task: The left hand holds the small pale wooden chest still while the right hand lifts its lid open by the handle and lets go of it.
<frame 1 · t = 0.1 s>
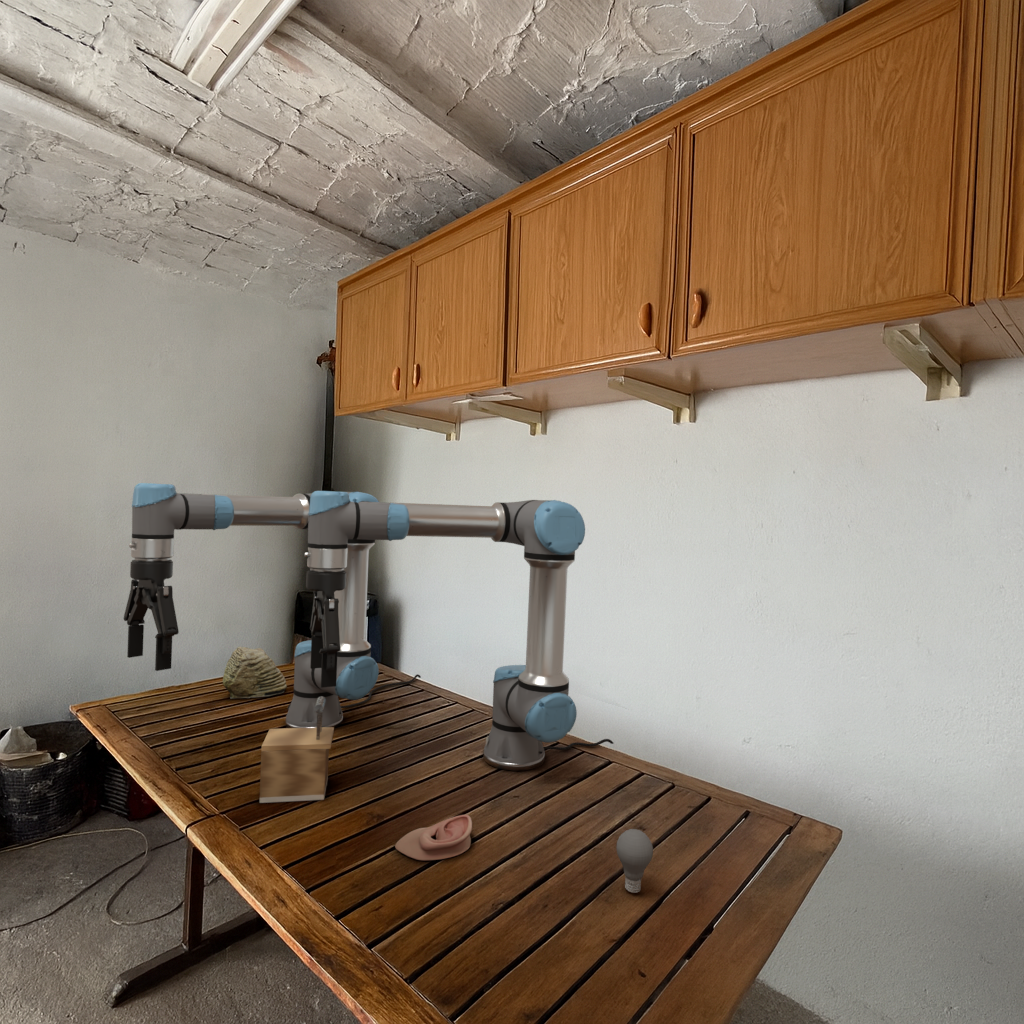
left hand: (148, 662, 129), 28 cm above the table, tool pointing down, fingers open, 13 cm apart
right hand: (322, 676, 125), 28 cm above the table, tool pointing down, fingers open, 13 cm apart
lid: (300, 720, 136), point 15 cm above the table, hinge at 0.0°
anatomical model: (434, 845, 117), on the table
chest: (295, 790, 136), on the table
fossil: (254, 694, 198), on the table
light bulb: (632, 891, 106), on the table
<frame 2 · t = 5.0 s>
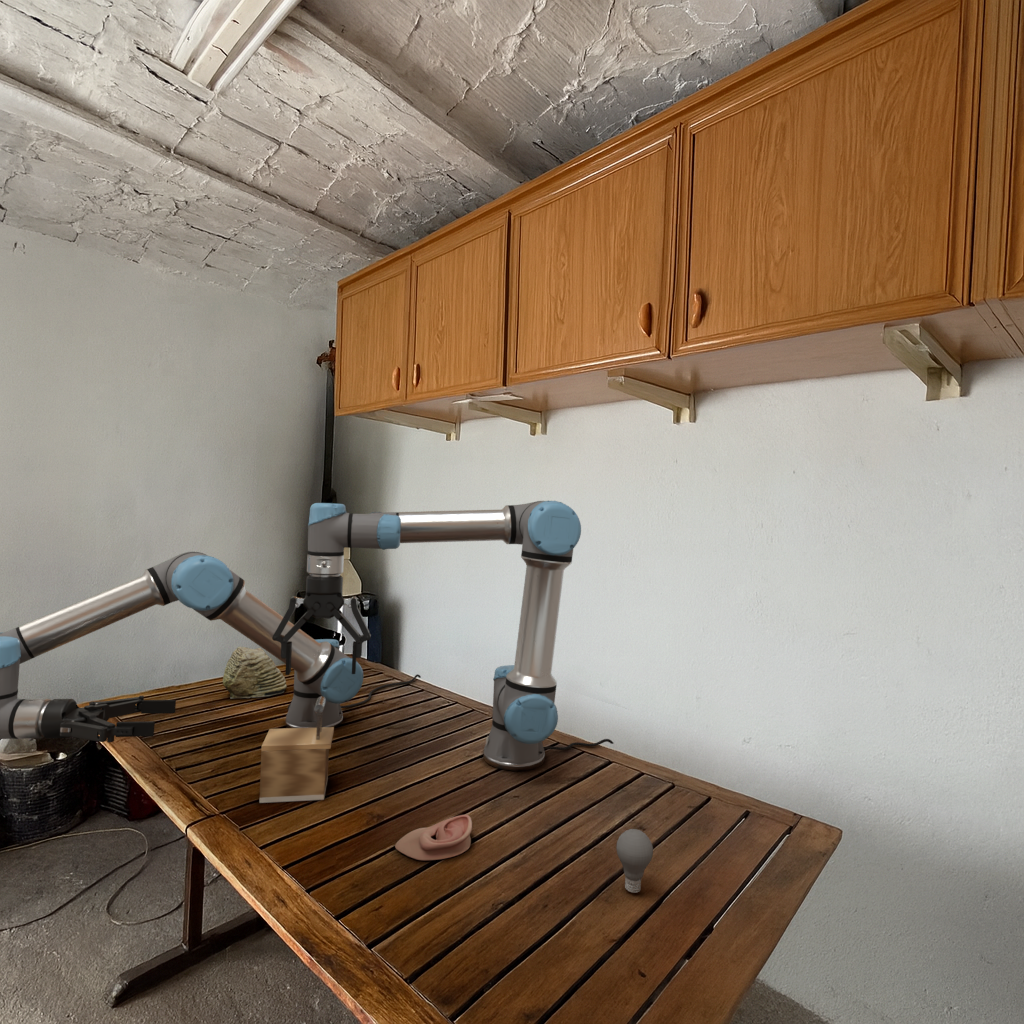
left hand: (165, 717, 131), 17 cm above the table, tool horizontal, fingers open, 13 cm apart
right hand: (321, 673, 137), 25 cm above the table, tool pointing down, fingers open, 13 cm apart
nothing on the table moved.
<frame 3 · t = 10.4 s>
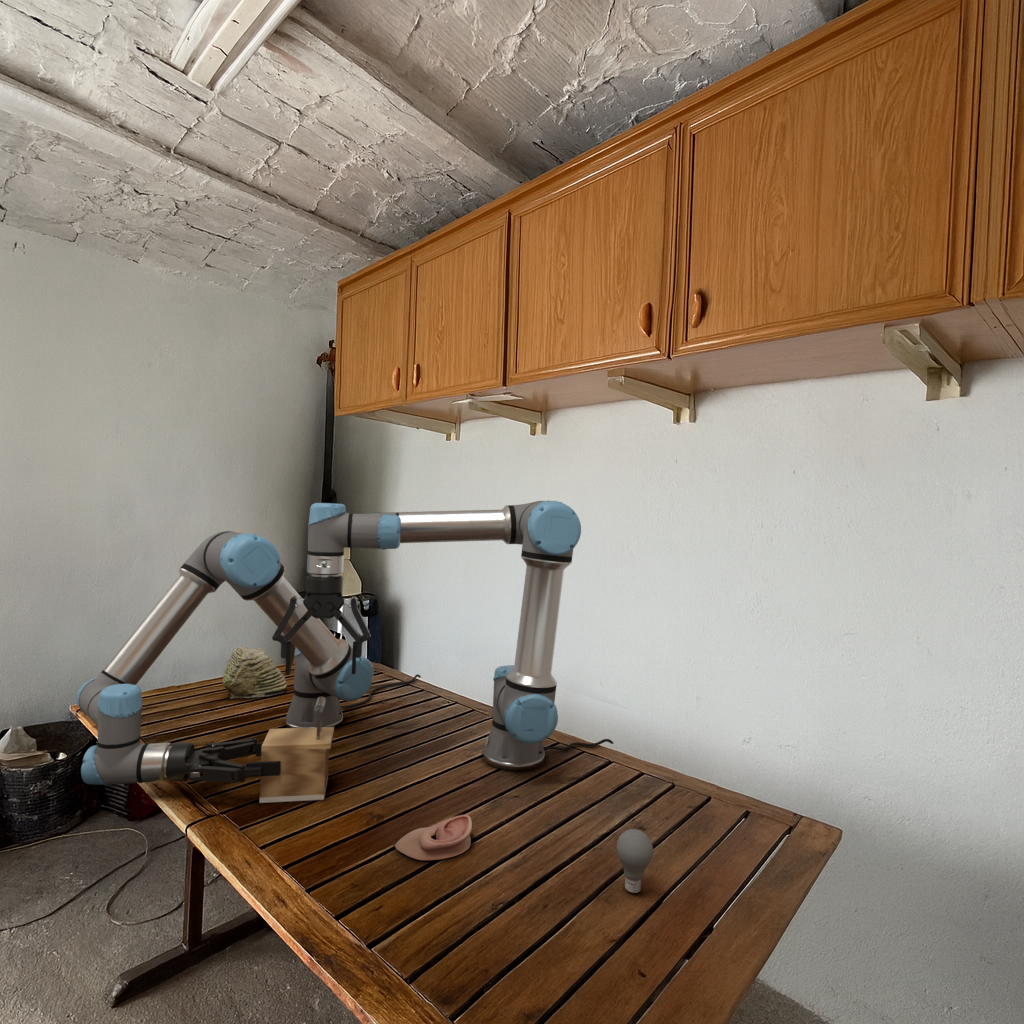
left hand: (283, 757, 135), 7 cm above the table, tool horizontal, fingers closed on chest, 10 cm apart
right hand: (321, 673, 137), 25 cm above the table, tool pointing down, fingers open, 13 cm apart
chest: (295, 790, 136), on the table, touching left hand
everything else where it was.
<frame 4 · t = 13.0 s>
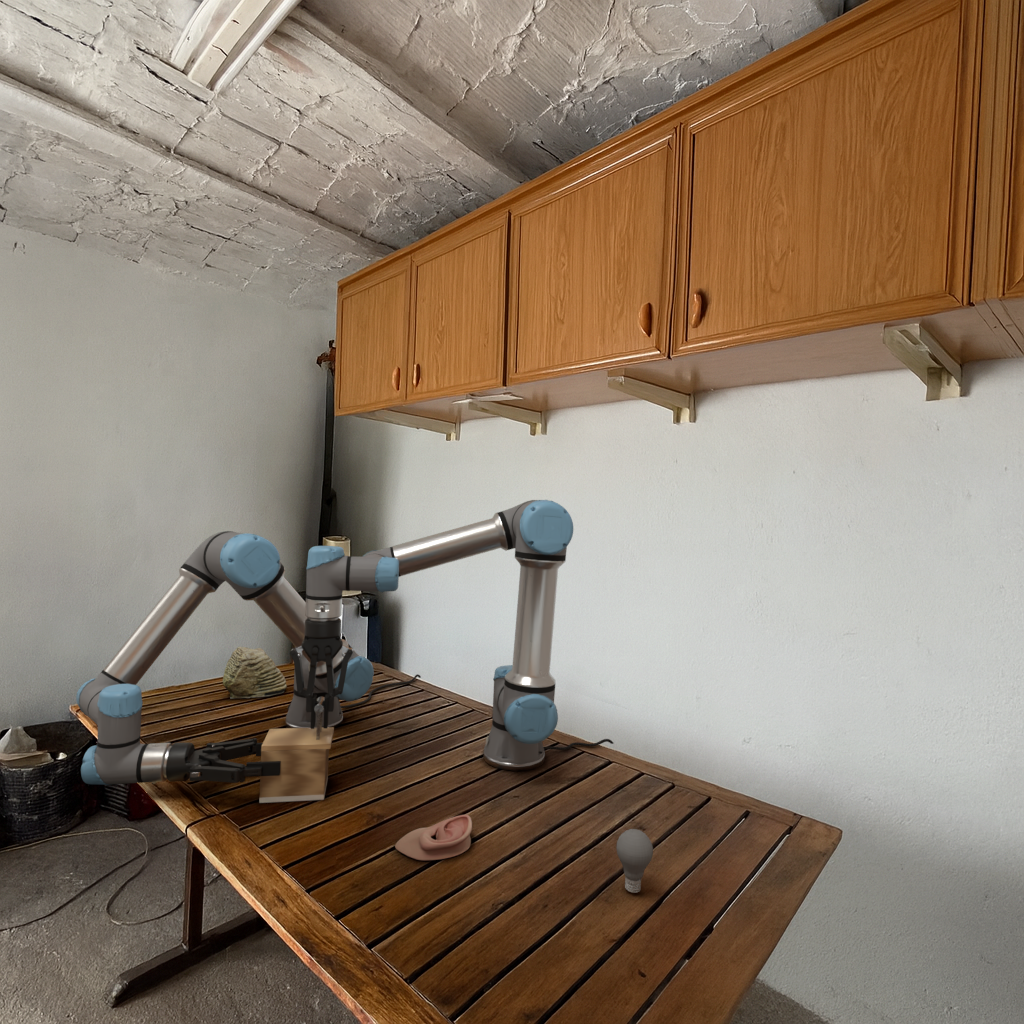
left hand: (283, 757, 135), 7 cm above the table, tool horizontal, fingers closed on chest, 10 cm apart
right hand: (319, 726, 137), 14 cm above the table, tool pointing down, fingers closed on lid, 2 cm apart
lid: (300, 720, 136), point 15 cm above the table, hinge at -0.1°, touching right hand
chest: (295, 790, 136), on the table, touching left hand
everything else where it was.
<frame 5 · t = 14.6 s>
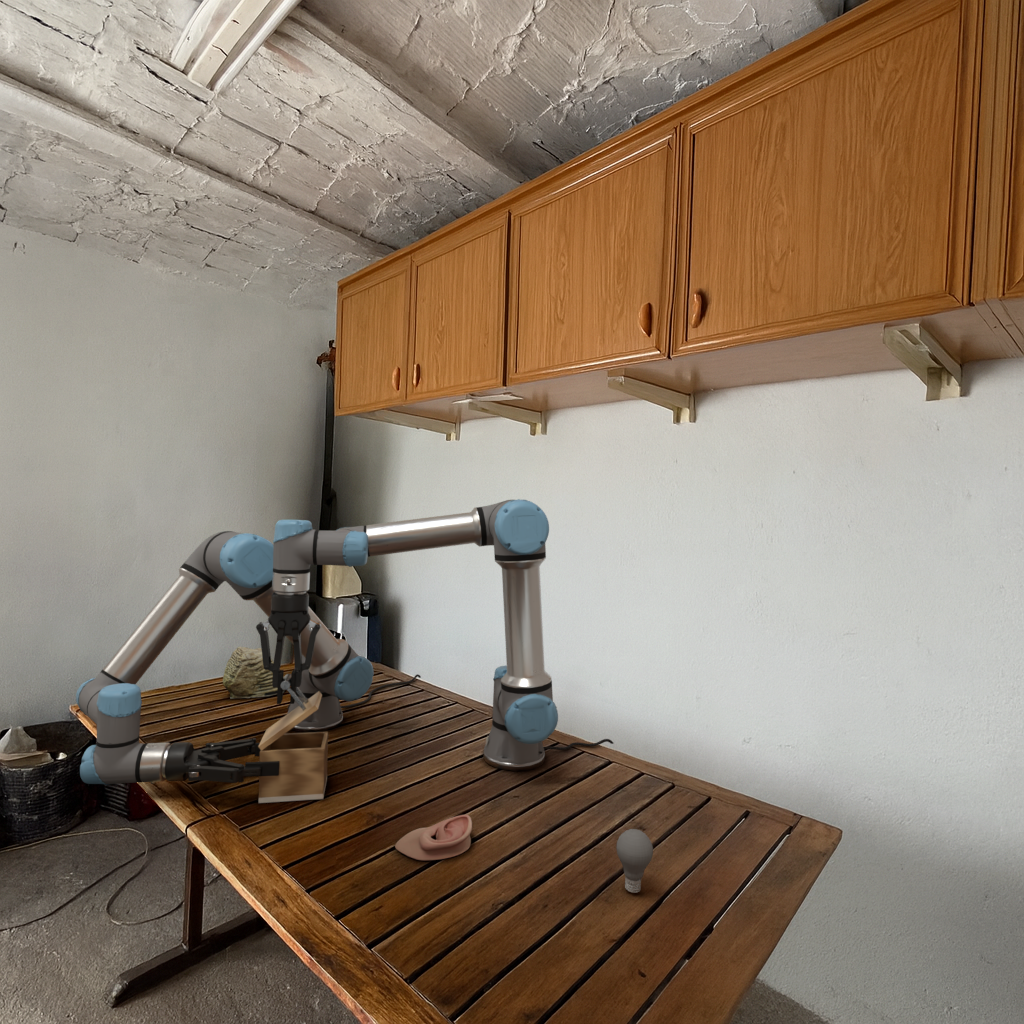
left hand: (282, 758, 135), 7 cm above the table, tool horizontal, fingers closed on chest, 10 cm apart
right hand: (286, 701, 135), 19 cm above the table, tool pointing down, fingers closed on lid, 2 cm apart
lid: (280, 705, 135), point 18 cm above the table, hinge at 36.7°, touching right hand
chest: (294, 790, 136), on the table, touching left hand
everything else where it was.
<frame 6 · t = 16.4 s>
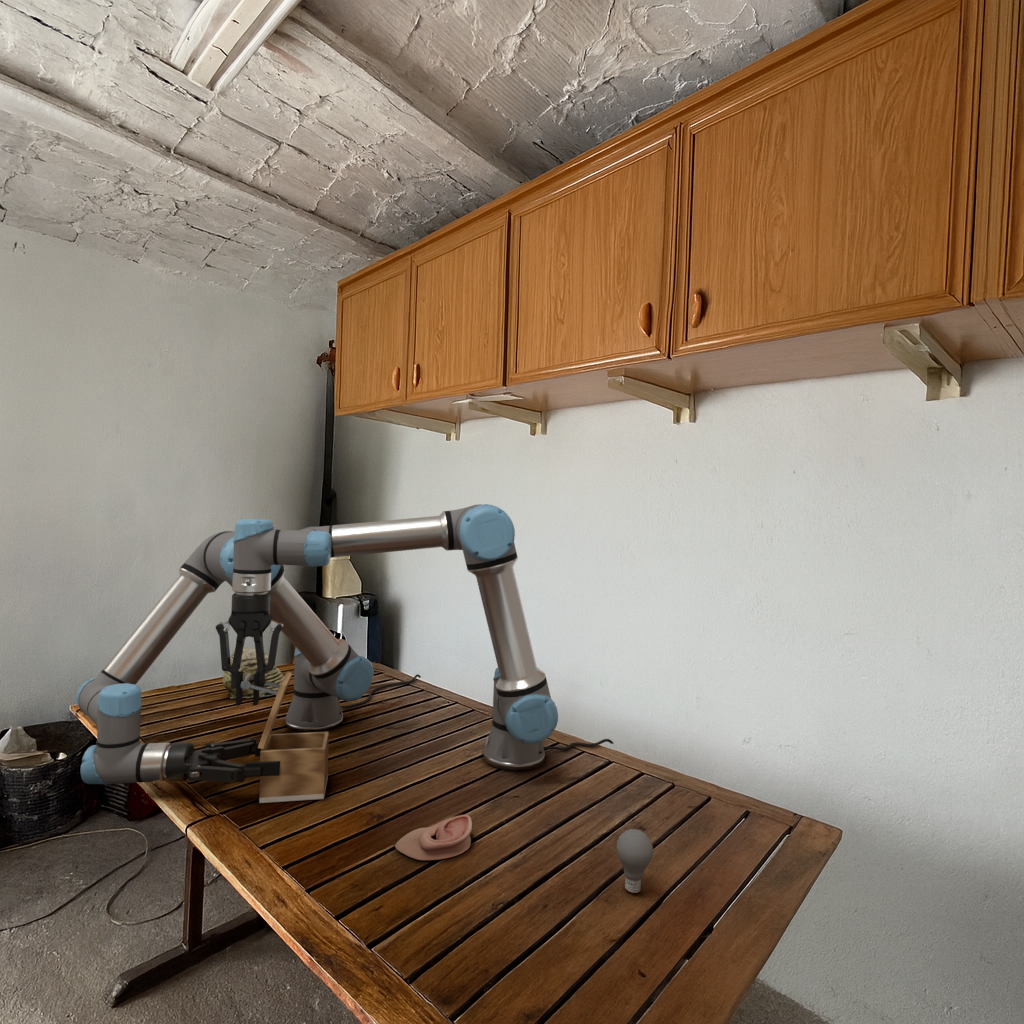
left hand: (283, 758, 135), 7 cm above the table, tool horizontal, fingers closed on chest, 10 cm apart
right hand: (247, 703, 134), 19 cm above the table, tool pointing down, fingers open, 3 cm apart
lid: (257, 704, 134), point 19 cm above the table, hinge at 72.1°
chest: (294, 790, 136), on the table, touching left hand
everything else where it was.
when the left hand's fingers open (7 cm above the table, at t = 20.5 s): chest stays where it is, on the table.
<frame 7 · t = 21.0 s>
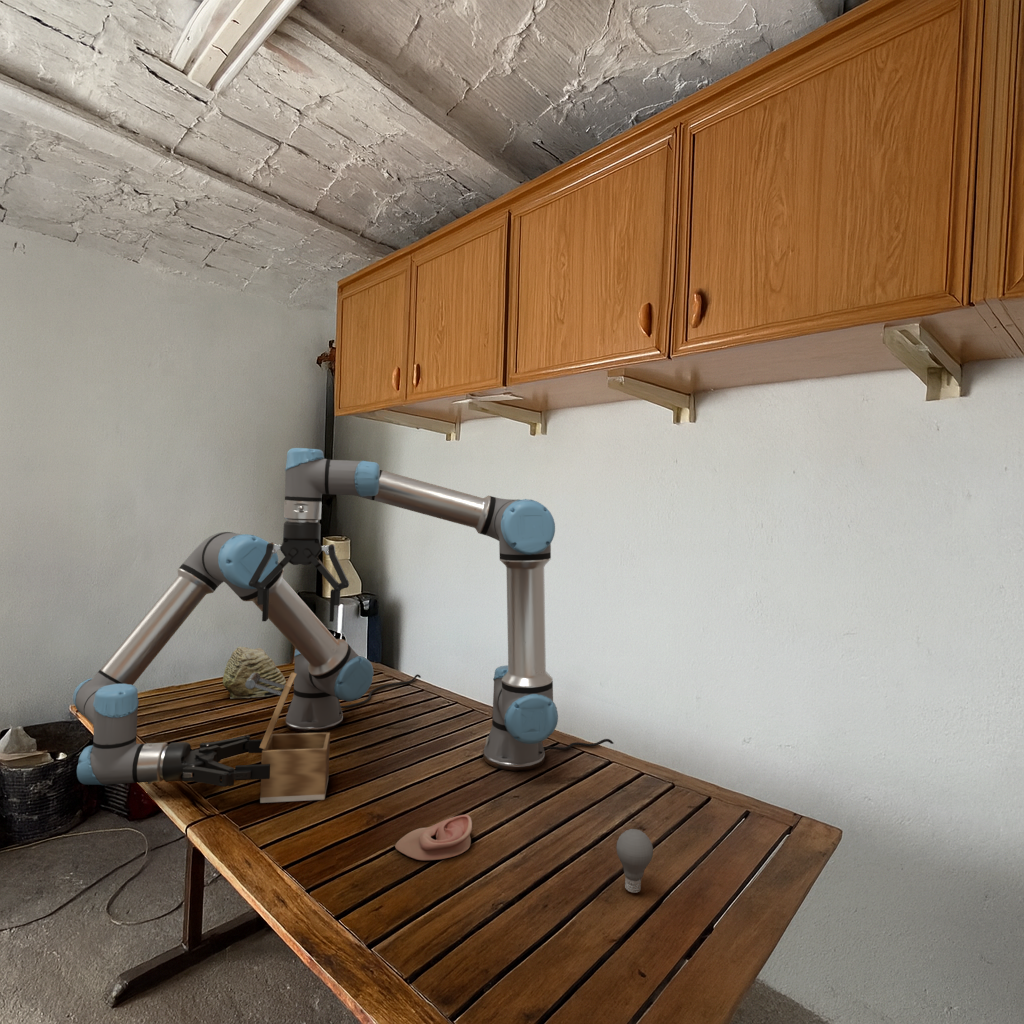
left hand: (275, 757, 135), 7 cm above the table, tool horizontal, fingers open, 13 cm apart
right hand: (298, 620, 135), 37 cm above the table, tool pointing down, fingers open, 13 cm apart
lid: (261, 703, 134), point 19 cm above the table, hinge at 70.2°
chest: (295, 790, 136), on the table
everything else where it was.
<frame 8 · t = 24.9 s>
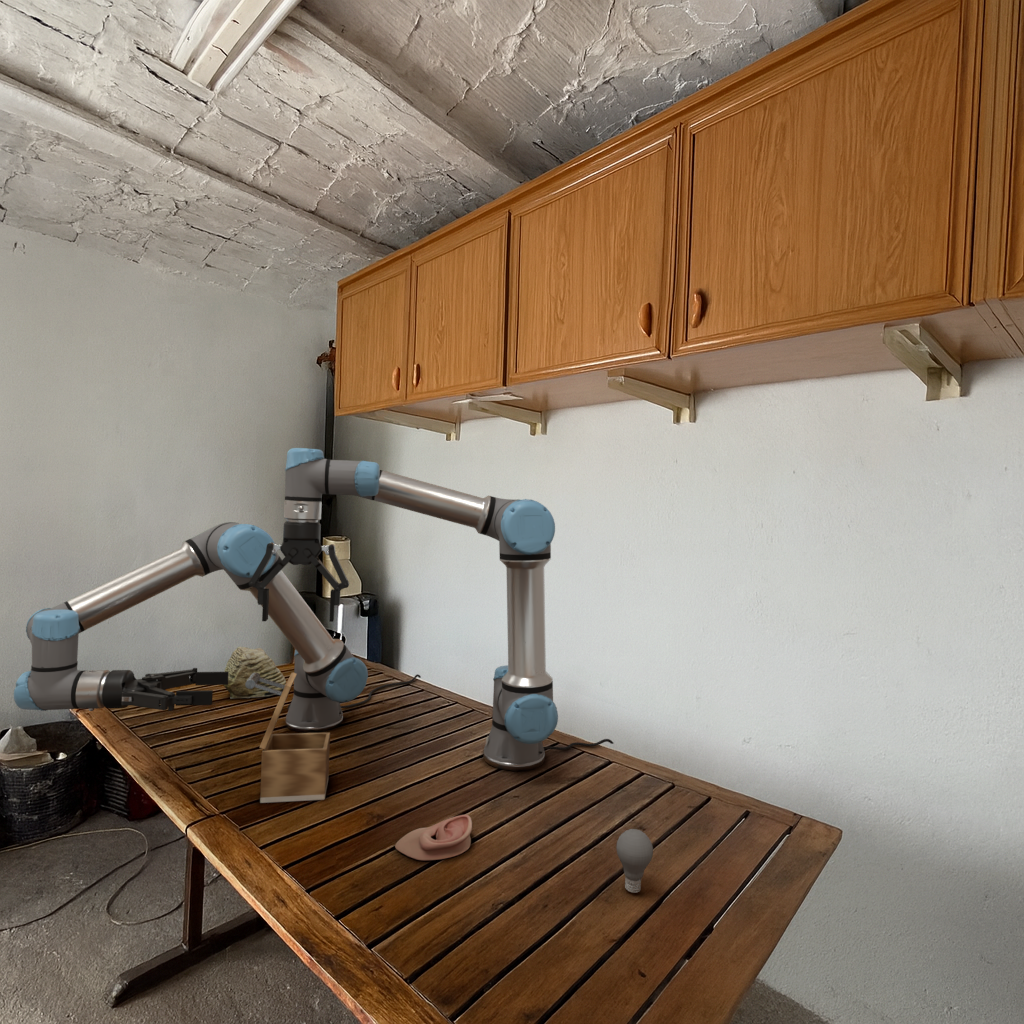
left hand: (220, 687, 132), 23 cm above the table, tool horizontal, fingers open, 13 cm apart
right hand: (298, 620, 135), 37 cm above the table, tool pointing down, fingers open, 13 cm apart
nothing on the table moved.
at the end: lid at +70° (first picture: +0°); the left hand is holding nothing; the right hand is holding nothing; chest tilted 0°; chest never tilted more than 1° during the clip; chest moved 0.1 cm from its start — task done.
